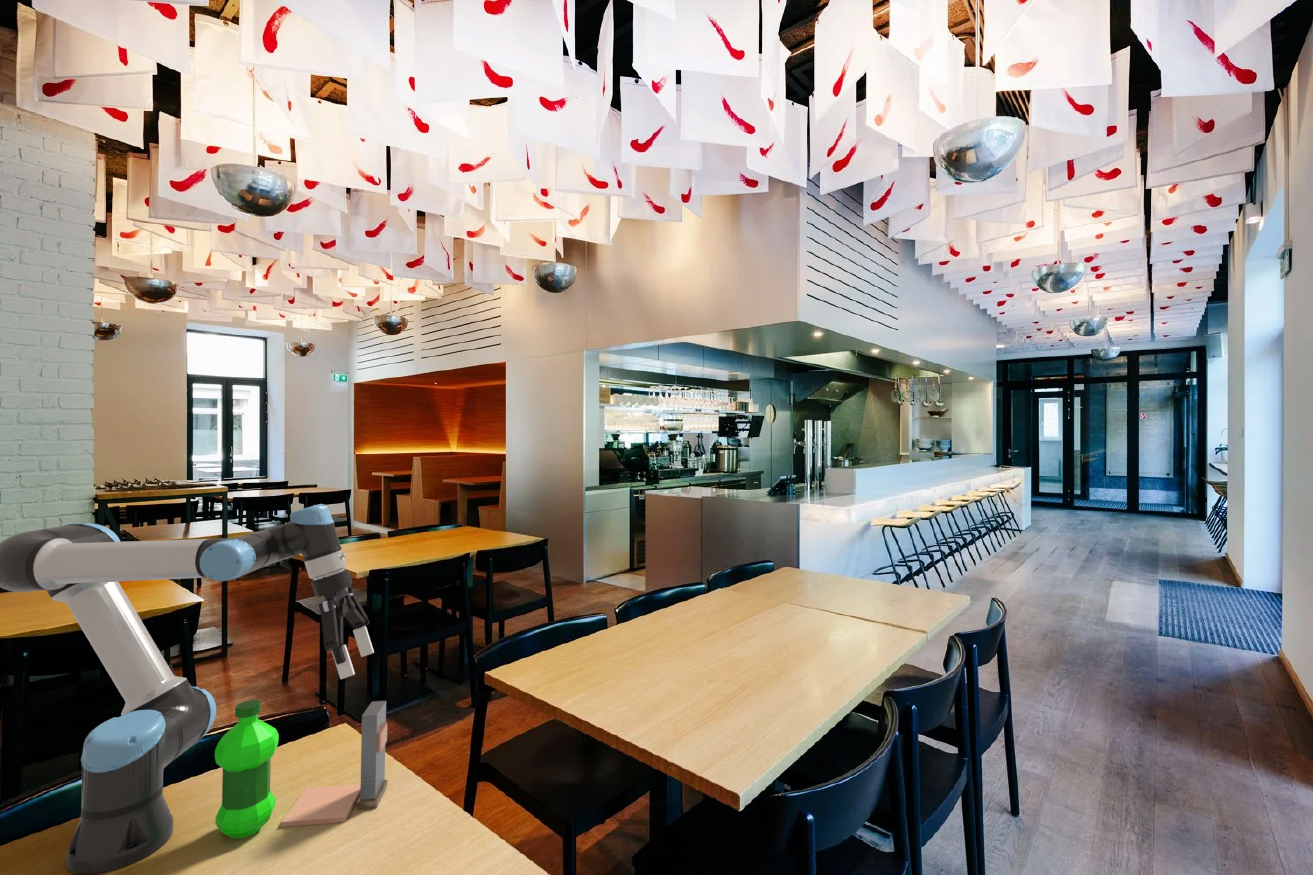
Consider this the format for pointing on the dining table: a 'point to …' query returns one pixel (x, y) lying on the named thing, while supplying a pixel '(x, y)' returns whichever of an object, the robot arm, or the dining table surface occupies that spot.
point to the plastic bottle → (246, 772)
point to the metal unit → (373, 755)
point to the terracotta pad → (323, 805)
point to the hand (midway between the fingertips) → (358, 665)
